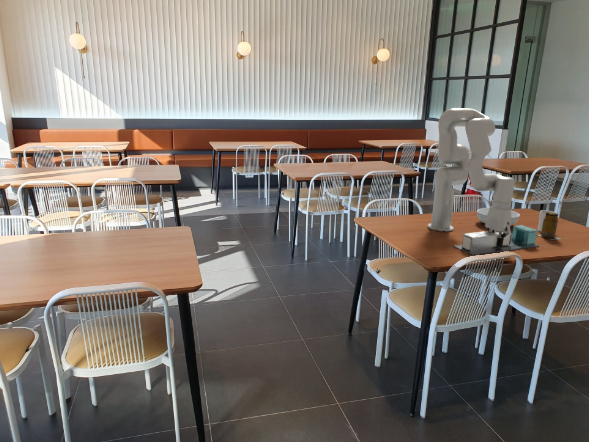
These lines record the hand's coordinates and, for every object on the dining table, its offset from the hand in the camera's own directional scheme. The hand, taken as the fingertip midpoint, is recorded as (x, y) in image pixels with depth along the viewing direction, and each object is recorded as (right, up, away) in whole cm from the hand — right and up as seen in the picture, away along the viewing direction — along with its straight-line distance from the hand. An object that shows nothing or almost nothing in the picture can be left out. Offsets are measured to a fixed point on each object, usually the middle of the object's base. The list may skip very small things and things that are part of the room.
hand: (495, 243), depth 197 cm
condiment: (+34, +2, +17) cm, 38 cm away
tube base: (+1, -1, +1) cm, 2 cm away
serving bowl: (+17, +8, +37) cm, 41 cm away
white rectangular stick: (-5, -1, -2) cm, 5 cm away
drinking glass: (+38, +5, +27) cm, 47 cm away
